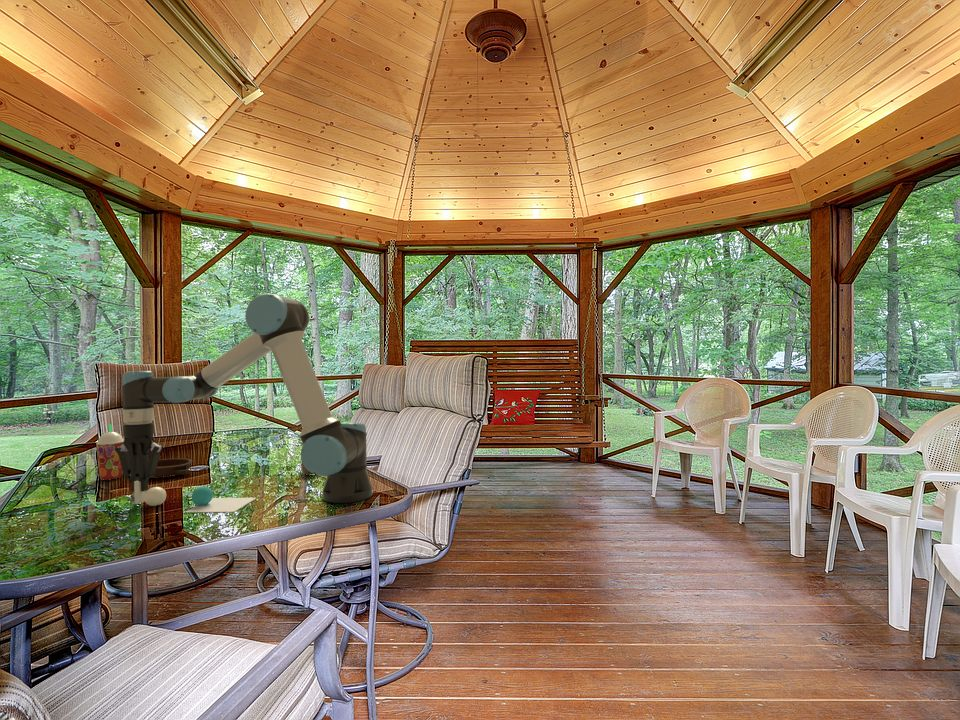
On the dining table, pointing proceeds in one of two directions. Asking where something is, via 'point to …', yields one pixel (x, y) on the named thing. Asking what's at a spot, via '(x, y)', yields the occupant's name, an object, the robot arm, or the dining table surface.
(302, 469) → the vase
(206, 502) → the object ball
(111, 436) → the smoothie
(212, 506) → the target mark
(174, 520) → the dining table surface
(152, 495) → the cue ball
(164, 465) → the dish
